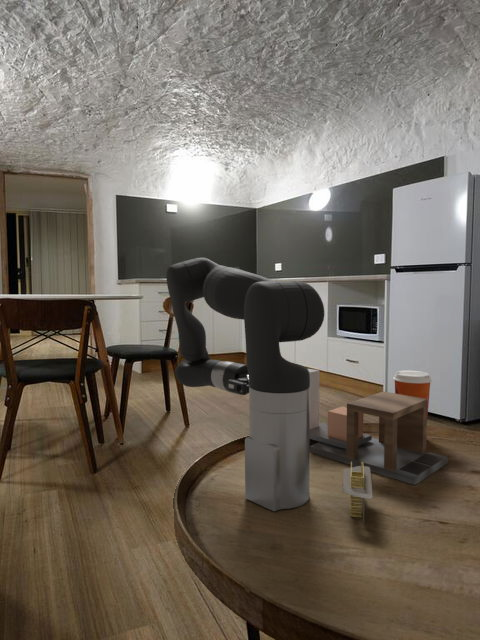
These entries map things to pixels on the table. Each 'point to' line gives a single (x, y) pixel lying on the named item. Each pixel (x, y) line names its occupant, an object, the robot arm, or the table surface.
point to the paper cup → (413, 384)
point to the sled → (331, 420)
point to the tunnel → (388, 438)
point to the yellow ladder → (360, 492)
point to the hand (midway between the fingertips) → (280, 388)
